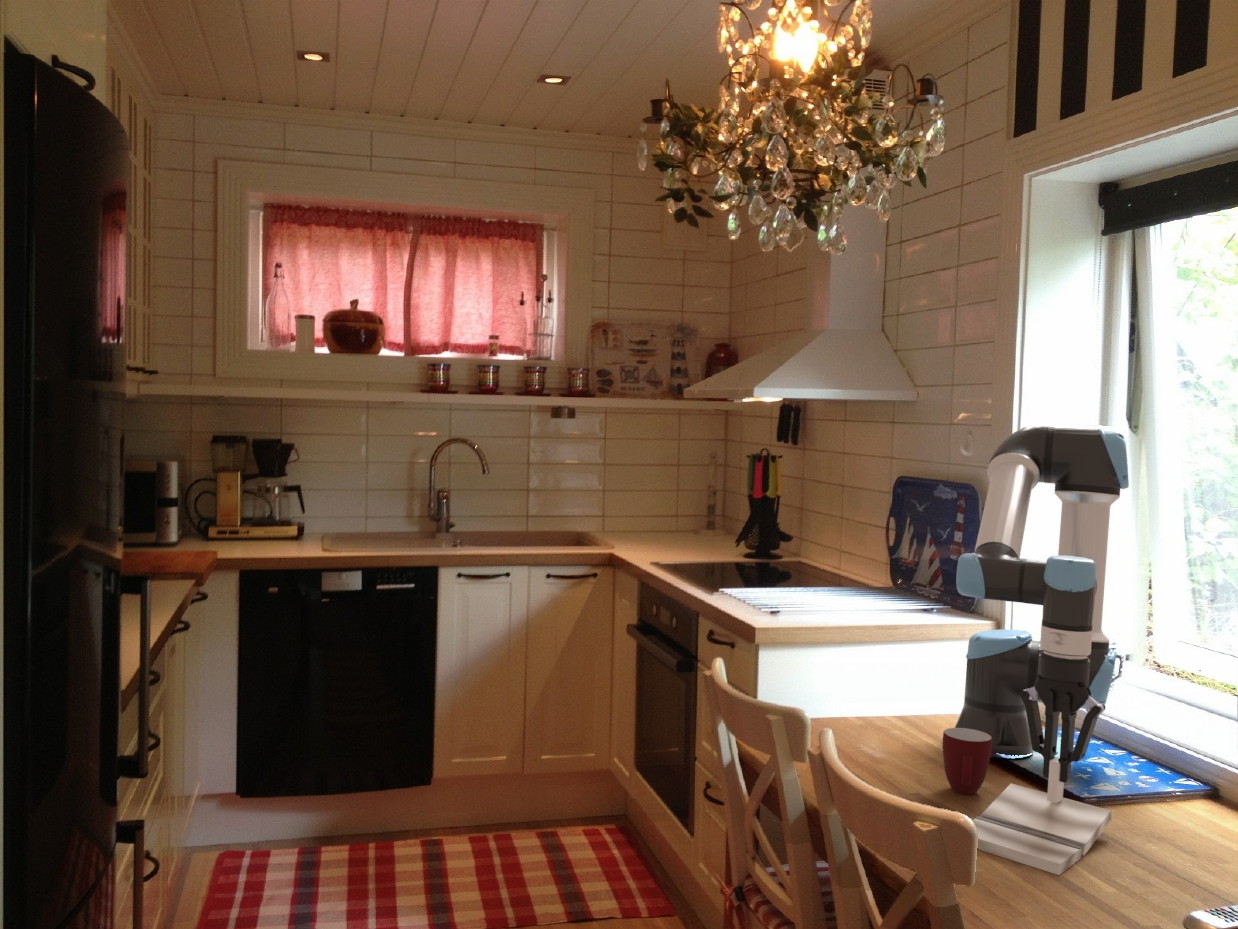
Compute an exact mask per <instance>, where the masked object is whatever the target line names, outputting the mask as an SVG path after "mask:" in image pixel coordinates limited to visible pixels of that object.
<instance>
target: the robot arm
mask: <svg viewBox="0 0 1238 929" xmlns="http://www.w3.org/2000/svg"><path fill="white" fill-rule="evenodd" d="M1127 452H1128V451H1127V441H1126V434H1125V433H1124V431H1123V430H1121V428H1118V427H1112V426H1103V425H1100V424H1099V425H1088V424H1087V425H1085V424H1084V425H1082V424H1059V423H1058V424H1054V423H1052V424H1051V423H1036V424H1034V423H1033V424H1030V425H1028V426H1025V427H1022V428H1020V429H1018V430H1016V431H1014V432H1013V433H1011V434H1010V435H1008V436H1007V437H1006V438H1004V439H1003V441H1002V442H1000V443H999V445H998V446H997V447H996V449H995V450H994V451H993V453H992V455H991V456H990V459H989V462H988V466H987V472H986V473H987V474H986V475H987V478H988V481H989V486H988V490H987V495H986V499H985V503H984V507H983V508H984V509H983V513H982V518H981V521H980V526H979V530H978V535H977V539H976V543H975V547H974V552H970V553H969V552H967V553H966V552H965V553H962V554H961V555H960V556H959V558H958V560H957V566H956V576H955V577H956V578H955V579H956V580H955V582H956V583H955V584H956V585H955V586H956V589H957V591H958V594H960V595H961V596H965V597H971V598H975V599H980V600H991V601H1001V602H1002V601H1003V602H1011V603H1012V602H1013V603H1021V604H1029V605H1037V606H1042V619H1041V627H1040V641H1037V640H1033V636H1032V634H1031V633H1030V632H1029V631H1027V630H1021V629H1020V630H1019V629H990V630H989V629H988V630H983V631H979V632H978V631H977V632H976V633H974V634H972V635H971V636H970V638H969V640H968V645H967V653H966V655H965V658H966V670H965V672H966V674H965V675H966V676H965V687H964V699H963V700H964V702H963V707H962V708H961V712H960V713H959V716H958V718H957V721H956V723H955V726H954V728H967V729H974V730H978V731H982V732H984V733H987V734H989V735H990V736H991V737H992V749H991V756H990V759H993V758H992V755H993V754H996V753H999V754H1005V755H1011V756H1012V755H1014V756H1015V755H1018V756H1019V755H1027V754H1030V753H1033V754H1034V752H1035V753H1038V754H1039V755H1041V756H1042V757H1043V763H1042V764H1043V766H1042V767H1043V768H1042V776H1043V778H1045V779H1048V781H1047V792H1046V793H1047V801H1051V802H1054V803H1057V802H1059V801H1061V800H1062V799H1063V798H1064V786H1065V783H1068V782H1070V779H1071V774H1072V772H1071V771H1072V763H1073V762H1074V763H1075V762H1076V763H1077V762H1079V761H1081V760H1083V759H1084V758H1085V757H1086V753H1087V751H1088V747H1089V745H1090V742H1091V739H1092V736H1093V733H1094V731H1095V727H1096V725H1097V721H1098V718H1099V717H1100V716H1101V715H1102V713H1104V712H1105V711H1106V704H1107V699H1108V696H1109V692H1110V687H1111V683H1112V680H1113V674H1114V670H1115V669H1114V668H1115V663H1116V660H1117V652H1116V651H1115V650H1113V649H1112V648H1111V649H1109V648H1110V640H1109V638H1108V637H1107V636H1106V635H1105V634H1104V633H1103V630H1102V628H1103V627H1102V626H1103V613H1104V612H1103V609H1104V594H1105V586H1106V585H1105V584H1106V583H1105V582H1106V567H1107V557H1108V555H1107V554H1108V545H1109V544H1108V541H1109V530H1110V529H1109V528H1110V527H1109V525H1110V516H1111V514H1110V512H1111V506H1112V505H1113V504H1114V503H1115V502H1116V501H1118V500H1119V499H1120V497H1121V490H1125V489H1128V488H1129V486H1130V484H1129V465H1128V453H1127ZM1038 483H1045V484H1054V494H1055V495H1056V496H1057V498H1058V499H1059V500H1060V501H1061V512H1060V525H1059V526H1060V527H1059V528H1060V529H1059V538H1058V539H1059V540H1058V552H1057V553H1058V554H1057V555H1051V556H1049V557H1047V559H1046V560H1040V559H1029V558H1022V557H1021V550H1022V545H1023V542H1024V540H1023V539H1024V536H1025V535H1024V534H1025V528H1026V524H1027V523H1026V522H1027V517H1028V511H1029V508H1030V507H1029V506H1030V502H1031V501H1030V500H1031V496H1032V490H1033V489H1034V488H1036V486H1037V485H1038ZM1039 703H1042V704H1043V705H1044V716H1045V724H1044V731H1043V726H1042V725H1043V724H1042V719H1041V712H1040V706H1039ZM1083 709H1084V710H1085V711H1086V715H1085V717H1084V719H1083V721H1082V725H1081V728H1080V730H1079V734H1078V737H1077V739H1076V742H1075V728H1076V718H1077V714H1078V711H1079V710H1083ZM1060 714H1061V718H1060ZM1059 718H1060V719H1061V734H1060V747H1059V748H1060V749H1059V752H1057V750H1058V748H1057V745H1058V733H1059V720H1060V719H1059ZM1074 742H1075V743H1074ZM1074 744H1075V745H1074ZM1058 754H1059V756H1058V757H1057V755H1058Z"/></svg>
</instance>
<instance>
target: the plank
mask: <svg viewBox="0 0 1238 929" xmlns="http://www.w3.org/2000/svg"><path fill="white" fill-rule="evenodd" d="M1047 793H1048V792H1045V791H1041V790H1037V789H1035V788H1034V789H1033V788H1029V787H1025V786H1022V785H1018V784H1014V783H1009V784H1008V786H1006V788H1005V789H1004V790H1003V791H1002V792H1001V793H1000V794H999V795H998V796H997V797H996V799H994V800H993V801H992V802H991V804H989V805H988V807H987V808H986V809H985V810H984V811H983V812H982V813H981V814H980V815H979V817H982V818H986V819H989V820H992V821H996V822H999V823H1002V824H1006V825H1009V826H1012V827H1016V828H1019V829H1022V830H1026V831H1029V832H1033V833H1036V834H1039V835H1043V836H1046V837H1049V838H1053V839H1056V840H1059V841H1063V842H1066V843H1069V844H1073V845H1076V846H1079V847H1082V851H1081V856H1082V855H1083V856H1082V857H1085V856H1086V854H1087V853H1088V851H1089V850H1090V849H1091V848H1092V846H1093V845H1094V844H1095V842H1096V841H1097V840H1098V838H1099V837H1100V836H1101V834H1102V833H1103V831H1104V830H1105V829H1106V827H1108V825H1109V823H1110V822H1111V821H1112V810H1111V809H1107V808H1104V807H1100V806H1096V805H1092V804H1089V803H1085V802H1081V801H1077V800H1074V799H1070V798H1066V797H1063V799H1062V800H1061V801H1059V802H1057V803H1054V802H1051V801H1047Z"/></svg>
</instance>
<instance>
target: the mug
mask: <svg viewBox="0 0 1238 929" xmlns="http://www.w3.org/2000/svg"><path fill="white" fill-rule="evenodd" d="M991 749H992V737H991V736H990V735H989V734H987V733H984V732H982V731H978V730H974V729H967V728H955V727H949V728H945V729H944V730H943V735H942V753H943V754H942V756H943V765H944V771H945V772H944V773H945V777H946V779H947V782H948V784H949V786H950V789H951V790H952V791H953V792H954V793H955V794H959V795H963V796H973V795H976V794H977V793H978V791H979V789H980V788H981V787H982V785H983V783H984V782H985V779H986V775H987V771H988V768H989V764H990V760H991V758H990V756H991Z"/></svg>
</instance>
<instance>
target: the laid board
mask: <svg viewBox="0 0 1238 929" xmlns="http://www.w3.org/2000/svg"><path fill="white" fill-rule="evenodd" d="M972 820H973V821H975V825H976V827H977V829H978V849H977V850H979V851H982V852H986V853H989V854H992V855H995V856H998V857H1001V858H1004V859H1007V860H1010V861H1014V862H1015V863H1019V864H1022V865H1026V866H1029V867H1032V868H1036V869H1038V870H1042V871H1044V872H1048V873H1051V874H1054V875H1057V876H1061V874H1063V873H1064V872H1065V871H1067V870H1069V869H1070V868H1071V867H1072V866H1073V865H1075V862H1076V863H1077V862H1078V861H1079V860H1081V859H1082V855H1081V851H1082V847H1079V846H1076V845H1073V844H1069V843H1066V842H1063V841H1059V840H1056V839H1053V838H1049V837H1046V836H1043V835H1039V834H1036V833H1033V832H1029V831H1026V830H1022V829H1019V828H1016V827H1012V826H1009V825H1006V824H1002V823H999V822H996V821H992V820H989V819H986V818H982V817H980V815H977V816H976V817H975V818H973V819H972ZM1066 869H1067V870H1066Z"/></svg>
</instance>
